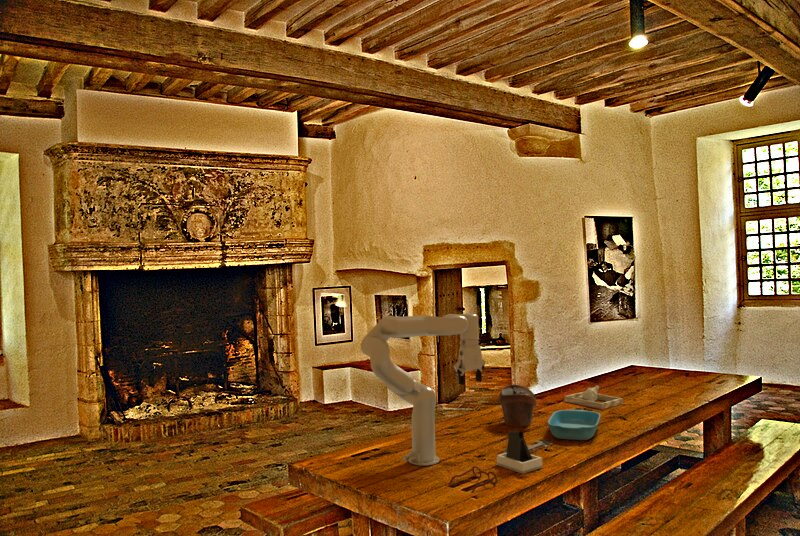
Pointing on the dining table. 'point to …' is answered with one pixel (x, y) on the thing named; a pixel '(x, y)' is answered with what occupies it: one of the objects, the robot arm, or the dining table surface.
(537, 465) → the cream rectangular tray
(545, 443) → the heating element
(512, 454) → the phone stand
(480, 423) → the dining table surface
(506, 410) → the brown bucket
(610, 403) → the cheese board rim
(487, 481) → the glasses
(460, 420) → the dining table surface
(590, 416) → the casserole dish
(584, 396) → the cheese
